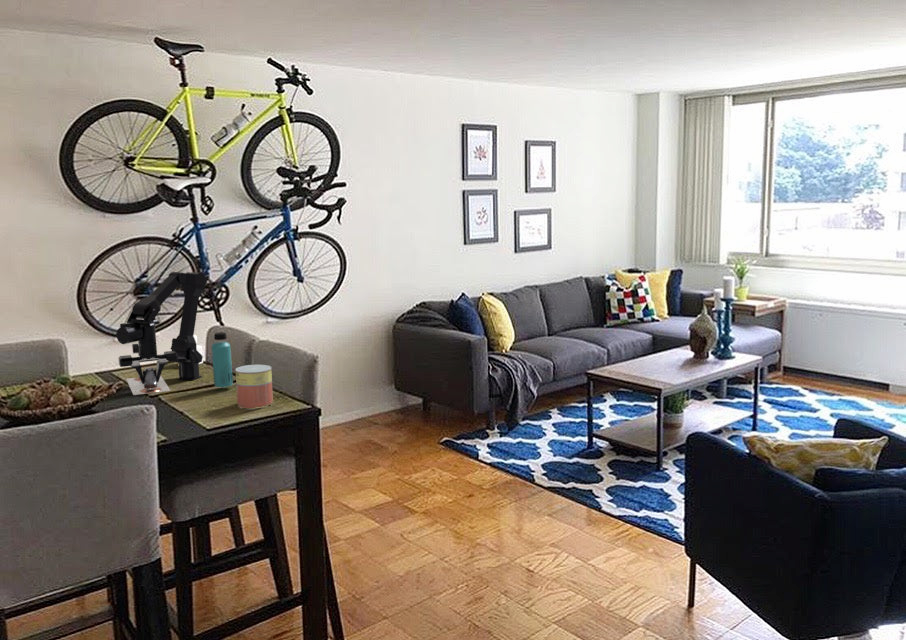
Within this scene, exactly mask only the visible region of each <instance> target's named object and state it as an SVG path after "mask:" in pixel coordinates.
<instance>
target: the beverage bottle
mask: <svg viewBox="0 0 906 640" xmlns="http://www.w3.org/2000/svg"><path fill="white" fill-rule="evenodd" d="M213 338H214V339H213V340H216V342H214V343H213V344H212V345H211V351H212V352H211V353H212V354H211V355H212V369H213V372H212V376H213V385H214V386H215V387H216V388H228V387H232V386H233V384H234V377H233V365H232V360H233V359H232V351H231V344H230V343H229V342H228V341H223V340H227V339H228V338H227V333H226V332H215V333H214V337H213Z"/></svg>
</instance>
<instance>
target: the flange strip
mask: <svg viewBox="0 0 906 640" xmlns="http://www.w3.org/2000/svg"><path fill="white" fill-rule="evenodd" d="M142 374H143V372H142ZM125 381H126V382H127V384H128V387H129V389H130V391H131V393H132V395H133V396H137V395H145V394H155V393H162V392H163V393H164V392H170V391H171V388H169V386H168V383H166V381H165V379H164V378H163V377H162V375H161V376H160V379H159V382H157V387H155V388H144V384H142V382H141V379H140V377H139V376H138V377H131V378H125Z"/></svg>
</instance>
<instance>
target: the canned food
mask: <svg viewBox="0 0 906 640" xmlns="http://www.w3.org/2000/svg"><path fill="white" fill-rule="evenodd" d="M272 369H273V367H272V366H271V365H268V364H261V363H260V364H259V363H258V364H247V365H246V364H245V365H241V366H238V367H236V368H235V380H236V399H237V404H238V406H239V407H242V408H255V407H262V406H266V405H269V404H270V403H272V402H273V403H274V400H273V394H274V393H273V377H272V376H273V375H272V374H273V373H272ZM238 406H237V407H238ZM239 407H238V408H239ZM242 408H241V409H242Z"/></svg>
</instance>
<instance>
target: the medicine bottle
mask: <svg viewBox="0 0 906 640" xmlns="http://www.w3.org/2000/svg"><path fill="white" fill-rule="evenodd" d="M194 339H195V341H196V344H197V351H198V352H199V353H200V354H201V355H202V356H203V358H202V362H200V363H199V365H202V364H203V363H204V355H203V353H204V352H203V346H202V345H198V336H197V335H196V334H194ZM177 366H179V362H177Z"/></svg>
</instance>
